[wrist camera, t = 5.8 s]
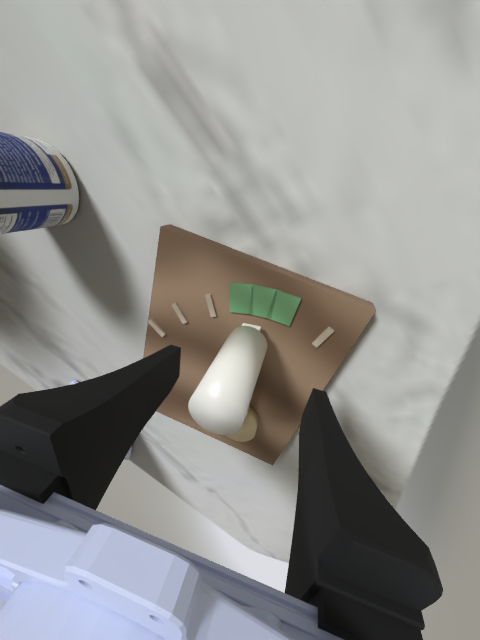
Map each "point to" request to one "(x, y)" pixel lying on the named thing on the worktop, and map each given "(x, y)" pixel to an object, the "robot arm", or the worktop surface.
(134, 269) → the worktop surface
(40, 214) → the pill bottle
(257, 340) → the peg lever
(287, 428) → the tuner board
